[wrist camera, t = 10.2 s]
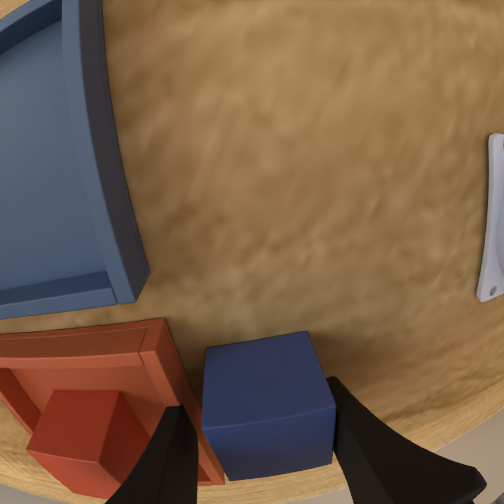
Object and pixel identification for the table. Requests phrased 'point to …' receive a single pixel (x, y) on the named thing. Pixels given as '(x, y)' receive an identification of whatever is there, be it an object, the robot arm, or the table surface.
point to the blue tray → (61, 167)
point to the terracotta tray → (103, 376)
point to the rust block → (88, 440)
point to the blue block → (267, 407)
